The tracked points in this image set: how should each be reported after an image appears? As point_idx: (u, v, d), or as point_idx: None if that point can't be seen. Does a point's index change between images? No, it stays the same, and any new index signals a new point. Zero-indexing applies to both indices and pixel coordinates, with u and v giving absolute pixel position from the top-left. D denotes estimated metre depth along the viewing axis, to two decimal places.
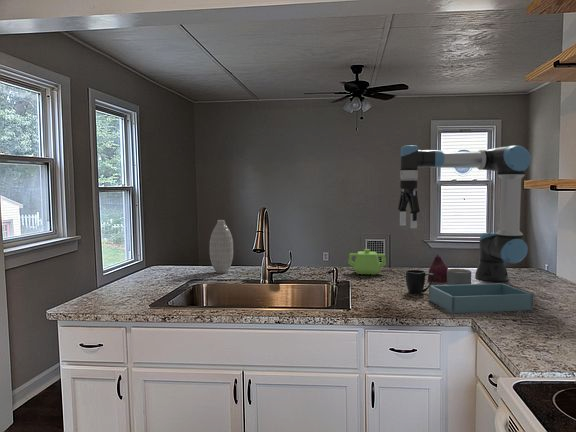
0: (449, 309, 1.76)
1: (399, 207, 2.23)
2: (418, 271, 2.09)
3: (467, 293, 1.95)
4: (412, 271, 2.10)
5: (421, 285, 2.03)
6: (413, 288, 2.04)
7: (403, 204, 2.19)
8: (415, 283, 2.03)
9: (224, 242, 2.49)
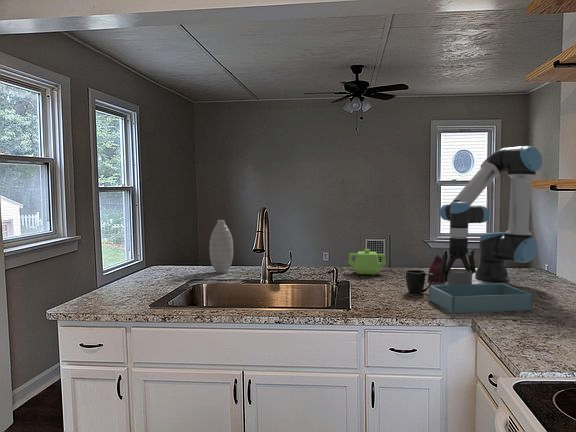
0: (449, 309, 1.76)
1: (470, 268, 2.08)
2: (418, 271, 2.09)
3: (467, 293, 1.95)
4: (412, 271, 2.10)
5: (421, 285, 2.03)
6: (413, 288, 2.04)
7: (464, 264, 2.07)
8: (415, 283, 2.03)
9: (224, 242, 2.49)
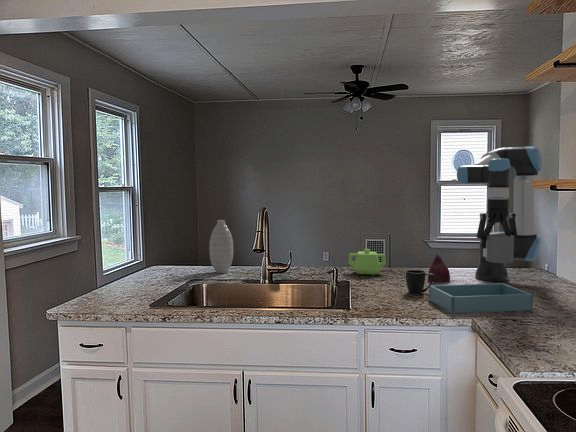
0: (449, 309, 1.76)
1: (510, 234, 1.87)
2: (418, 271, 2.09)
3: (467, 293, 1.95)
4: (412, 271, 2.10)
5: (421, 285, 2.03)
6: (413, 288, 2.04)
7: (504, 229, 1.86)
8: (415, 283, 2.03)
9: (224, 242, 2.49)
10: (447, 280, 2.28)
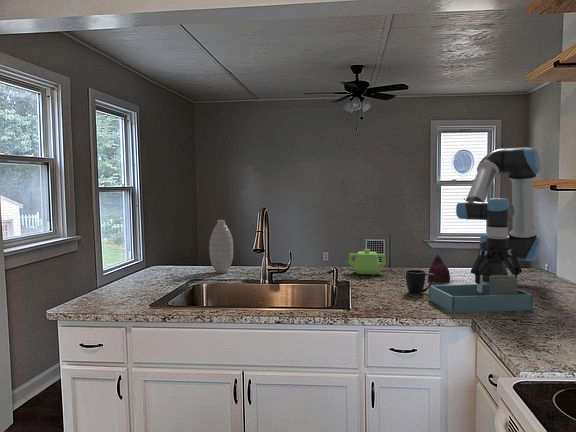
0: (449, 309, 1.76)
1: (514, 269, 1.88)
2: (418, 271, 2.09)
3: (467, 293, 1.95)
4: (412, 271, 2.10)
5: (421, 285, 2.03)
6: (413, 288, 2.04)
7: (506, 265, 1.87)
8: (415, 283, 2.03)
9: (224, 242, 2.49)
10: (447, 280, 2.28)
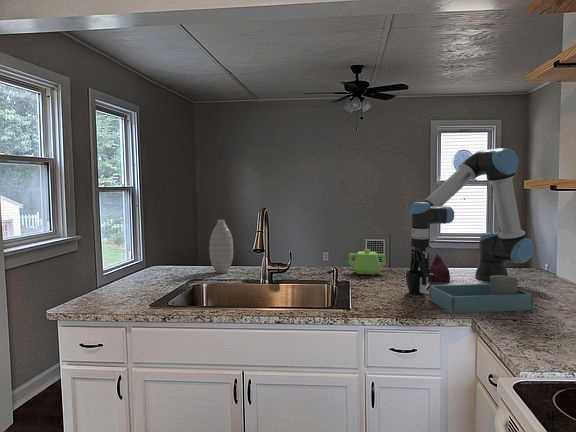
0: (449, 309, 1.76)
1: (411, 267, 2.12)
2: (418, 271, 2.09)
3: (467, 293, 1.95)
4: (412, 271, 2.09)
5: None
6: (414, 288, 2.03)
7: (415, 264, 2.08)
8: (416, 283, 2.02)
9: (224, 242, 2.49)
10: (447, 280, 2.28)
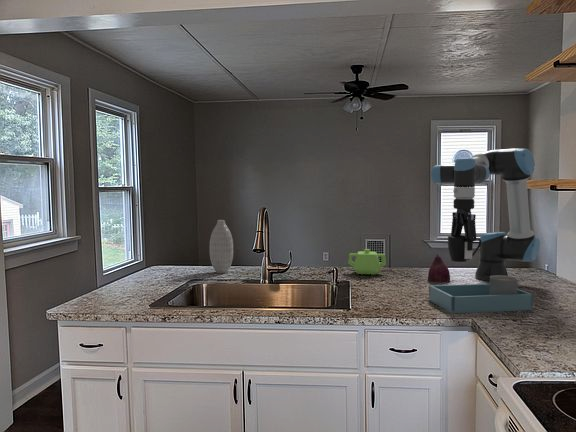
0: (449, 309, 1.76)
1: (452, 233, 1.90)
2: (461, 237, 1.86)
3: (467, 293, 1.95)
4: (454, 237, 1.87)
5: None
6: (457, 255, 1.81)
7: (457, 228, 1.86)
8: (460, 249, 1.80)
9: (224, 242, 2.49)
10: (447, 280, 2.28)
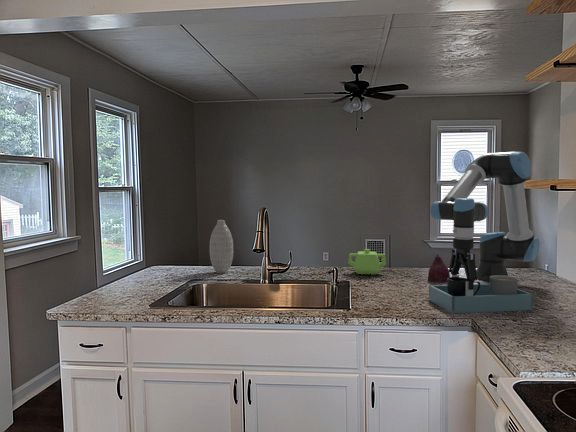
0: (449, 309, 1.76)
1: (450, 269, 1.92)
2: (460, 278, 1.88)
3: None
4: (453, 278, 1.88)
5: (465, 294, 1.82)
6: None
7: (456, 266, 1.88)
8: (459, 292, 1.81)
9: (224, 242, 2.49)
10: None
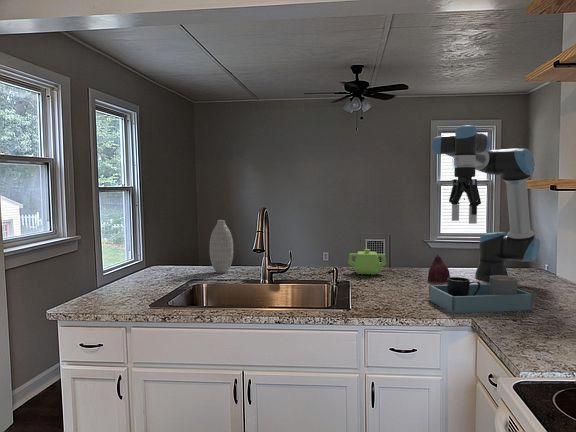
0: (449, 309, 1.76)
1: (451, 199, 1.91)
2: (460, 278, 1.88)
3: None
4: (454, 278, 1.88)
5: (465, 294, 1.82)
6: None
7: (457, 195, 1.87)
8: (459, 292, 1.81)
9: (224, 242, 2.49)
10: None
